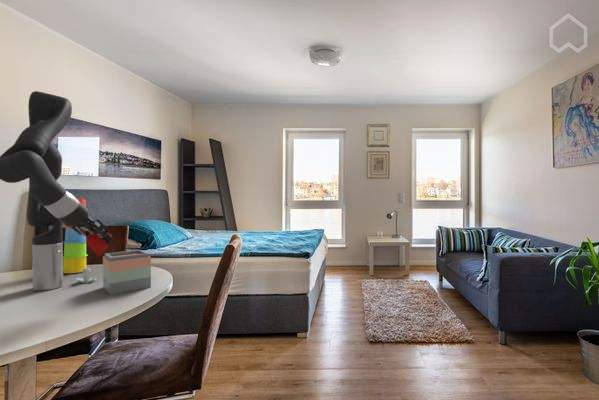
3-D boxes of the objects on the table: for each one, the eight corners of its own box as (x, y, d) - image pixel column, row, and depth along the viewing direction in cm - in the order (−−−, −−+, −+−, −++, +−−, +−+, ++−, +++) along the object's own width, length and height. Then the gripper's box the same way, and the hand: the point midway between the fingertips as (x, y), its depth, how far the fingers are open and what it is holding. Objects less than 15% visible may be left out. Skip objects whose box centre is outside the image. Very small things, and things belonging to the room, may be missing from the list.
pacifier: (77, 282, 131) (74, 285, 126) (77, 267, 131) (74, 269, 126) (98, 279, 134) (96, 282, 129) (97, 265, 134) (96, 267, 129)
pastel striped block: (109, 294, 113) (109, 258, 113) (103, 287, 122) (102, 253, 122) (150, 287, 123) (150, 253, 122) (142, 280, 132) (141, 249, 131)
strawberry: (86, 254, 106) (86, 224, 106) (112, 252, 110) (112, 224, 109) (84, 257, 101) (84, 226, 101) (112, 255, 104) (112, 225, 104)
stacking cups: (60, 271, 148) (59, 197, 147) (86, 267, 155) (85, 197, 154) (62, 275, 140) (61, 198, 140) (90, 271, 147) (89, 197, 146)
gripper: (90, 199, 95) (125, 233, 106) (61, 198, 101) (97, 231, 112) (72, 218, 90) (111, 252, 101) (42, 216, 96) (82, 248, 107)
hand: (104, 241), depth 107 cm, fingers closed on strawberry, 6 cm apart
